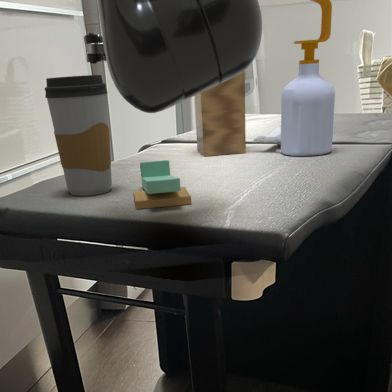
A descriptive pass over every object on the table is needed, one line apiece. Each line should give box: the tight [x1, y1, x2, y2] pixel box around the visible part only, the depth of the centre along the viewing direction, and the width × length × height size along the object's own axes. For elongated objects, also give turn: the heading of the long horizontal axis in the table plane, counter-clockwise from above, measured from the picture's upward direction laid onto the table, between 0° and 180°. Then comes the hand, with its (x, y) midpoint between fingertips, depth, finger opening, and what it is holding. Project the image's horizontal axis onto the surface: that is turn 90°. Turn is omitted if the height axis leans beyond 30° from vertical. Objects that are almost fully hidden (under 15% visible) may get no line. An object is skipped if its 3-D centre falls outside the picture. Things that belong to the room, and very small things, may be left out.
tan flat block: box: [132, 186, 192, 210], centre depth 71 cm, size 7×6×1 cm
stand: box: [193, 70, 247, 157], centre depth 100 cm, size 8×8×23 cm
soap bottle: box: [280, 0, 336, 157], centre depth 93 cm, size 9×9×25 cm
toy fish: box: [252, 125, 281, 146], centre depth 108 cm, size 6×18×4 cm, turn 151°
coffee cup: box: [44, 74, 113, 197], centre depth 76 cm, size 8×8×15 cm
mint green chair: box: [139, 159, 182, 194], centre depth 73 cm, size 4×15×4 cm, turn 9°
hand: (146, 46), depth 65 cm, fingers open, 8 cm apart
